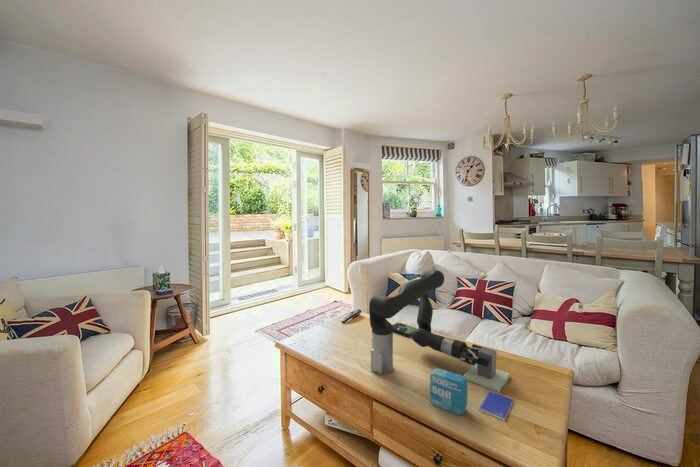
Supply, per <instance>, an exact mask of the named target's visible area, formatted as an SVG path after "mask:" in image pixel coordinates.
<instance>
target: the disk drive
mask: <svg viewBox="0 0 700 467" xmlns="http://www.w3.org/2000/svg"><path fill="white" fill-rule="evenodd" d="M392 327H393V334H397V335H399V336H402V337H405V338H408V339H409V338H412V332H413V331H414V330H415V329H418V328H416V327H414V326H411V325H408V324H405V323H402V322H396V323H393V324H392Z"/></svg>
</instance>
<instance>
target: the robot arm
mask: <svg viewBox="0 0 700 467" xmlns="http://www.w3.org/2000/svg"><path fill="white" fill-rule="evenodd" d="M444 282H445V275H444V273H443V272H442V271H441V270H438V269H432V270H431V269H430V270H426V271H422V273H421V274H420V278H416V279H412V280H409V281H407V282H406V283H404V284H402V285H401V286H400V287H399V289H398V293H397V294H396V295H394V296H387V295H383V294H377V293H376V294H374V295H373V296H371V299H370V300H369V306H368V308H369V309H368V310H369V312H368V313H369V325H370V328H371V349H370V370H371V372H375V373H376V374H379V375H381V376H382V375H386V374H390V373H392V371H393V370H394V348H393V347H394V342H393V340H394V337H393V336H394V332H393V327H392V325H393V324H392V323H390V322H389V320H388V319H392V318H393V317H394V316H396V315H397V314H398V313H399V312H400V311H402V310H403V309H404V308H405V307H407V306H408V305H410V304H412V303H413V302H415V301H417V300H419V305H418V311H417V316H416V324H417V326H418V328H417V329H415V330H414V331H413V332H412V336H411V339H412V340H413V342H414V343H415V344H417V345H418V346H420V347H421V348H426V347H428V348H430V349H432V350H434V351H437V352H439V353H443V354H445V355H446V356H450V357H452V358H455V359H458V360H460V361H461V362H463V363H466V364H468V365H471V366H473V365H475V364H481V365H484V366H488V365H489V362H488V361H487V360H484V359H481V358H479V359H478V351H479V350H480V349H481V348H482V347H483V346H481V345H478V344H471V346H468V344H467V342H465V341H461V340H458V339H455V338H452V337H446V336H443V335H440V334H436V333H433V332H432V326H431V325H432V319H433V314H434V312H433V311H434V310H433V306H432V303H431V300H430V297H429V292H431V291H433V290H436V289H438V288H440V287H442V286H443V284H444Z"/></svg>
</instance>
